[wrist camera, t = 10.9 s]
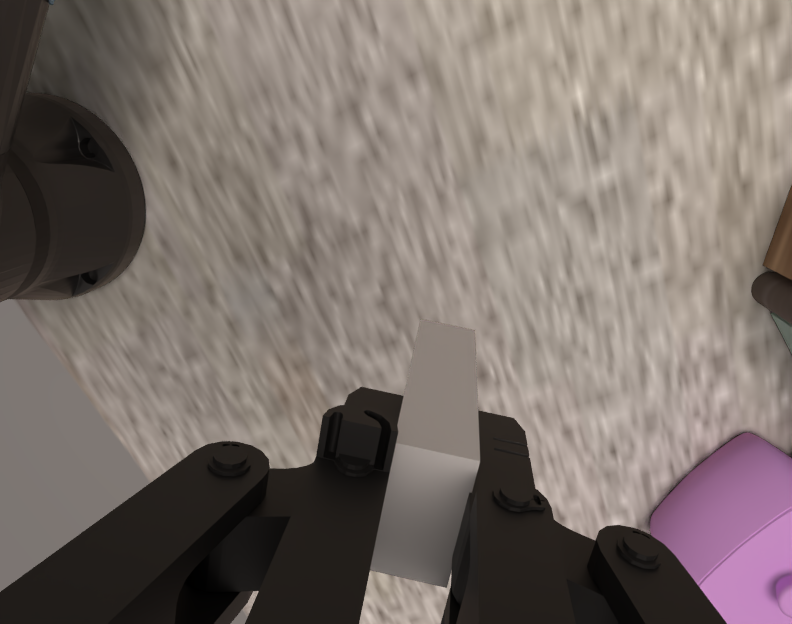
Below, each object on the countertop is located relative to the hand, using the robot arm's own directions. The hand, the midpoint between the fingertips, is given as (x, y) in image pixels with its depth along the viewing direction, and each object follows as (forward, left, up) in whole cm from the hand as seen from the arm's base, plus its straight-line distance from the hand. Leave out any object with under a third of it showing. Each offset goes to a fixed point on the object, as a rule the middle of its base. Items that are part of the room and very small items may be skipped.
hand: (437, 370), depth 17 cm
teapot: (+26, -19, -29) cm, 43 cm away
